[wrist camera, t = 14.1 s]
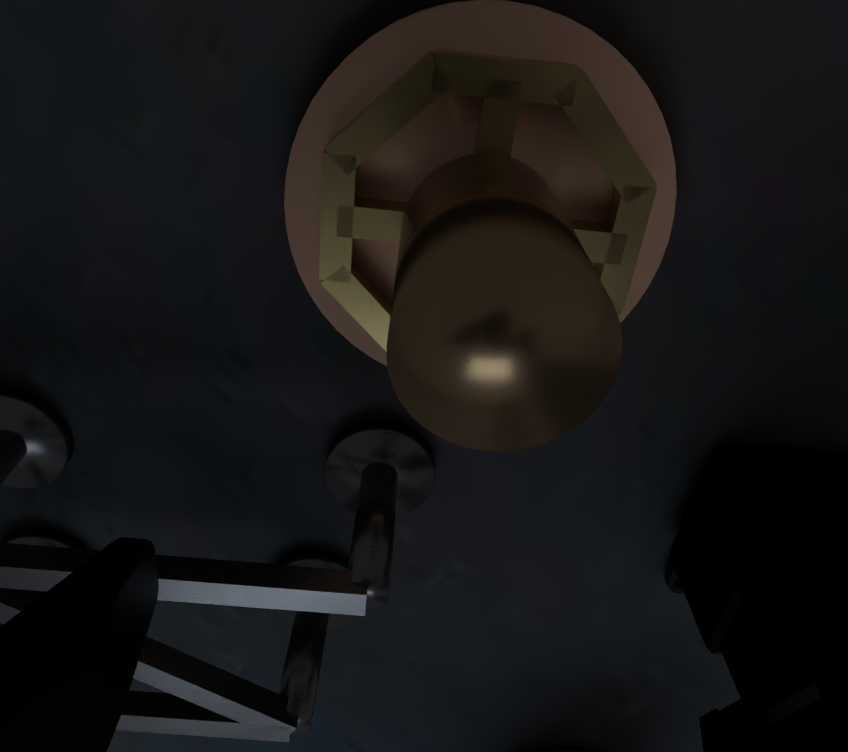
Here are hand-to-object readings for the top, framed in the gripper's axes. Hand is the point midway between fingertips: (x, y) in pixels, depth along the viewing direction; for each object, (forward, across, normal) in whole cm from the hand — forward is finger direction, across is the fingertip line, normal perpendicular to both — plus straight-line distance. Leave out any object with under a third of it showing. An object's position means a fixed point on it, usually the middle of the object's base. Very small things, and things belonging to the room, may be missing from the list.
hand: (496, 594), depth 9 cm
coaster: (+12, 0, -2) cm, 12 cm away
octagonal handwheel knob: (+11, 0, -1) cm, 11 cm away
